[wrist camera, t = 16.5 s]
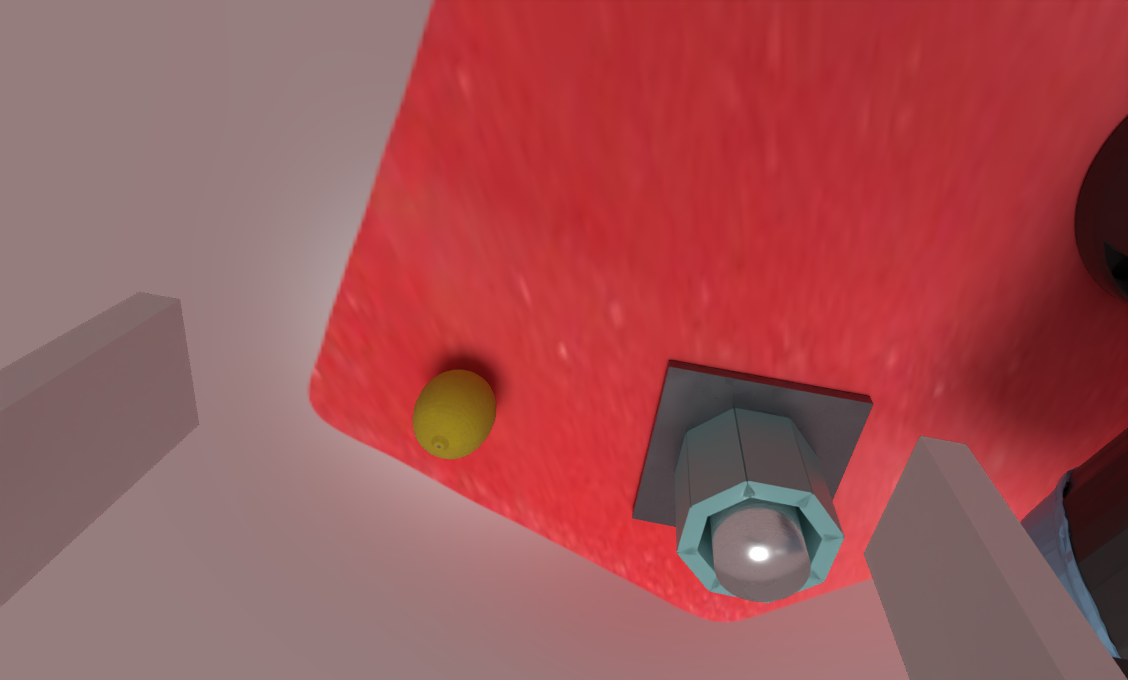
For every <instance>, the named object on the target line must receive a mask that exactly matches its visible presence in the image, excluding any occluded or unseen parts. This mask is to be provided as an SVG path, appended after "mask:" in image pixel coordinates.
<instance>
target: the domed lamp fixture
mask: <svg viewBox="0 0 1128 680" xmlns="http://www.w3.org/2000/svg"><path fill="white" fill-rule="evenodd" d="M872 406H873V402H872V400H871V398H870V397H869V396H865V395H860V394H854V393H849V392H843V391H838V390H832V389H827V388H821V387H816V386H810V385H805V384H799V383H794V382H788V381H783V380H777V379H772V378H766V377H761V376H755V375H750V374H744V373H739V372H733V371H728V370H722V369H717V368H711V367H706V366H700V365H695V364H689V363H684V362H678V361H673V360H669V362H668V366H667V370H666V374H665V379H664V383H663V387H662V391H661V395H660V399H659V403H658V407H657V412H656V416H655V420H654V424H653V428H652V432H651V436H650V440H649V445H648V449H647V453H646V457H645V461H644V465H643V469H642V473H641V478H640V482H639V486H638V490H637V494H636V498H635V502H634V506H633V514H632V518H633V519H638V520H643V521H648V522H654V523H659V524H664V525H669V526H674V527H676V506H675V470H676V467H677V463H678V460H679V456H680V452H681V449H682V445H683V441H684V438H685V434H686V433H687V431H689V430H691V429H693V428H695V427H697V426H699V425H701V424H703V423H705V422H707V421H709V420H711V419H713V418H715V417H717V416H719V415H720V414H722V413H724V412H726V411H728V410H730V409H732V408H734V409H735V408H739V409H744V410H750V411H755V412H761V413H766V414H771V415H777V416H782V417H788V418H789V419H791V420H792V421H793V423H794V424H795V426H796V427H797V429H798V430H799V431H800V433H801V434H802V436H803V437H804V438H805V440H806V441H807V443H808V444H809V446H810V447H811V448H812V450H813V451H814V453H815V454H816V456H817V458H818V461H819V464H820V467H821V470H822V472H823V475H824V478H825V481H826V484H827V487H828V490H829V493H830V496H831V499H832V500H833V498H834V495H835V493H836V491H837V488H838V486H839V484H840V481H841V479H842V477H843V474H844V472H845V470H846V467H847V465H848V463H849V460H850V458H851V456H852V453H853V451H854V448H855V446H856V444H857V441H858V439H859V437H860V434H861V432H862V430H863V427H864V425H865V423H866V420H867V418H868V416H869V413H870V411H871V409H872ZM710 526H711V537H712V548H713V558H714V569H715V574H716V577H717V579H718V581H719V583H720V584H721V585H722V586H723V588H724V589H726V590H727V591H728V592H730V593H731V594H733V595H735V596H737V597H739V598H742V599H745V600H749V601H755V602H770V601H776V600H781V599H784V598H786V597H789V596H791V595H793V594H794V593H796V592H797V591H799V590H800V589H801V588H802V587H803V586H804V585H805V583H806V582H807V580H808V578H809V575H810V571H811V564H810V559H809V556H808V552H807V548H806V544H805V540H804V537H803V533H802V529H801V525H800V522H799V518H798V514H797V510H796V506H792V505H787V504H782V503H776V502H771V501H766V500H761V499H756V498H748V499H745V500H743V501H741V502H739V503H736V504H734V505H732V506H730V507H728V508H725V509H723V510H721V511H719V512H717V513H714V514H712V515H710Z"/></svg>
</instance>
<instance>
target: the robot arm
mask: <svg viewBox="0 0 1128 680" xmlns="http://www.w3.org/2000/svg"><path fill="white" fill-rule="evenodd" d="M1075 228H1076V240H1077V245H1078V249H1079V253H1080V256H1081V258H1082V261H1083V263H1084V265H1085V267H1086V268H1087V270H1088V272H1089V273H1090V275H1091V276H1092V277H1093V278H1094V280H1095V281H1096V282H1097V283H1098V284H1099V285H1100V286H1101V287H1102V288H1103V289H1105V290H1106V291H1107V292H1108V293H1110V294H1111V295H1113V296H1114V297H1116V298H1117V299H1119V300H1120V301H1122V302H1123V303H1125V304H1126V305H1128V118H1127V119H1126V120H1125V121H1124V122H1123V123H1122V124H1121V125H1120V126H1119V128H1118V129H1117V130H1116V131H1115V132H1114V133H1113V135H1112V136H1111V137H1110V138H1109V140H1108V141H1107V143H1106V144H1105V145H1104V147H1103V148H1102V150H1101V151H1100V153H1099V154H1098V156H1097V157H1096V159H1095V161H1094V163H1093V165H1092V166H1091V168H1090V170H1089V173H1088V175H1087V177H1086V179H1085V182H1084V184H1083V187H1082V190H1081V193H1080V197H1079V201H1078V205H1077V212H1076V224H1075ZM198 425H199V421H198V414H197V408H196V401H195V394H194V388H193V381H192V375H191V368H190V362H189V355H188V349H187V342H186V335H185V329H184V323H183V316H182V309H181V302H180V299H176V298H170V297H165V296H159V295H154V294H149V293H142V292H138V293H136V294H135V295H133V296H131V297H129V298H128V299H126V300H124V301H122V302H120V303H119V304H117V305H115V306H113V307H112V308H110V309H108V310H106V311H104V312H103V313H101V314H99V315H97V316H96V317H94V318H92V319H90V320H88V321H86V322H85V323H83V324H81V325H79V326H78V327H76V328H74V329H72V330H70V331H69V332H67V333H65V334H63V335H62V336H60V337H58V338H56V339H55V340H53V341H51V342H49V343H47V344H46V345H44V346H42V347H40V348H39V349H37V350H35V351H33V352H31V353H29V354H28V355H26V356H24V357H22V358H20V359H19V360H17V361H15V362H14V363H12V364H10V365H8V366H6V367H5V368H3V369H1V370H0V607H1V606H2V605H3V604H4V603H5V602H7V601H8V600H9V599H10V598H11V597H12V596H13V595H14V594H15V593H16V592H17V591H19V590H20V589H21V588H22V587H23V586H24V585H25V584H26V583H27V582H28V581H29V580H30V579H32V578H33V577H34V576H35V575H36V574H37V573H38V572H39V571H40V570H41V569H43V568H44V567H45V566H46V565H47V564H48V563H49V562H50V561H51V560H52V559H53V558H54V557H55V556H57V555H58V554H59V553H60V552H61V551H62V550H63V549H64V548H65V547H66V546H68V545H69V544H70V543H71V542H72V541H73V540H74V539H75V538H76V537H77V536H78V535H79V534H80V533H82V532H83V531H84V530H85V529H86V528H87V527H88V526H89V525H90V524H91V523H92V522H94V521H95V520H96V519H97V518H98V517H99V516H100V515H101V514H102V513H103V512H104V511H106V509H108V508H109V507H110V506H111V505H112V504H113V503H114V502H115V501H116V500H117V499H119V498H120V497H121V496H122V495H123V494H124V493H125V492H126V491H127V490H128V489H129V488H131V487H132V486H133V485H134V484H135V483H136V482H137V481H138V480H139V479H140V478H141V477H142V476H144V475H145V474H146V473H147V472H148V471H149V470H150V469H151V468H152V467H153V466H154V465H156V464H157V463H158V462H159V461H160V460H161V459H162V458H163V457H164V456H165V455H166V454H167V453H169V451H171V450H172V449H173V448H174V447H175V446H176V445H177V444H178V443H179V442H180V441H182V440H183V439H184V438H185V437H186V436H187V435H188V434H189V433H190V432H191V431H192V430H193V429H194V428H196V427H197V426H198ZM864 556H865V558H866V561H867V564H868V567H869V569H870V572H871V575H872V578H873V580H874V583H875V586H876V589H877V591H878V594H879V597H880V600H881V602H882V605H883V608H884V610H885V613H886V616H887V619H888V621H889V624H890V627H891V630H892V632H893V635H894V637H895V641H896V643H897V646H898V649H899V651H900V654H901V657H902V660H903V662H904V665H905V668H906V671H907V673H908V676H909V679H910V680H1128V428H1127V429H1126V430H1124V431H1123V432H1122V433H1121V434H1120V435H1118V436H1117V437H1116V438H1115V439H1113V440H1112V441H1111V442H1110V443H1108V444H1107V445H1106V446H1105V447H1103V448H1102V449H1101V450H1100V451H1098V452H1097V453H1096V454H1095V455H1093V456H1092V457H1091V458H1090V459H1088V460H1087V461H1086V462H1085V463H1083V464H1082V465H1081V466H1080V467H1076V468H1074V469H1072V470H1070V471H1068V472H1067V473H1065V474H1064V475H1063V476H1062V477H1061V478H1060V480H1059V482H1058V484H1057V485H1056V489H1055V490H1053V491H1052V492H1051V493H1050V494H1049V495H1048V496H1047V497H1046V498H1045V499H1044V500H1043V501H1042V502H1041V503H1039V504H1038V505H1037V506H1036V507H1035V508H1034V509H1033V510H1032V511H1031V512H1030V513H1029V514H1027V515H1026V516H1025V517H1024V519H1023V520H1022V521H1021V522H1019V521H1018V519H1017V518H1016V516H1015V515H1014V513H1013V512H1012V510H1011V509H1010V507H1009V506H1008V504H1007V503H1006V502H1005V500H1004V499H1003V497H1002V496H1001V494H1000V493H999V491H998V490H997V488H996V487H995V485H994V484H993V483H992V481H991V480H990V478H989V477H988V475H987V474H986V472H985V471H984V469H983V468H982V467H981V465H980V464H979V462H978V461H977V459H976V458H975V456H974V455H973V453H972V452H971V450H970V449H969V448H968V446H967V445H966V444H962V443H957V442H952V441H946V440H941V439H935V438H930V437H925V436H920V437H919V439H918V441H917V443H916V446H915V448H914V450H913V452H912V454H911V456H910V458H909V460H908V462H907V464H906V466H905V469H904V471H903V473H902V475H901V477H900V479H899V481H898V483H897V485H896V487H895V489H894V491H893V494H892V496H891V498H890V500H889V502H888V504H887V506H886V508H885V510H884V512H883V514H882V517H881V519H880V521H879V523H878V525H877V527H876V529H875V531H874V533H873V535H872V537H871V540H870V542H869V544H868V546H867V548H866V550H865V552H864Z"/></svg>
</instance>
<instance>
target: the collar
mask: <svg viewBox="0 0 1128 680" xmlns="http://www.w3.org/2000/svg"><path fill="white" fill-rule="evenodd" d="M748 498H756V499H761V500H766V501H771V502H776V503H782V504H787V505H792V506H796V510H797V514H798V518H799V522H800V525H801V529H802V533H803V537H804V540H805V544H806V548H807V552H808V556H809V559H810V564H811V571H810V575H809V578H808V580H807V582H806V583H805V585H804V586H803V587H802V588H801V589H800V590H799V591H802V590H804V589H807V588H810V587H812V586H815V585H818V584H820V583H823V581H825V579H826V577H827V575H828V572H829V570H830V568H831V566H832V564H833V561H834V559H835V557H836V555H837V553H838V550H839V548H840V546H841V544H842V541H843V539H844V534H843V531H842V528H841V525H840V522H839V519H838V516H837V514H836V511H835V508H834V505H833V502H832V499H831V496H830V493H829V490H828V487H827V484H826V481H825V478H824V475H823V472H822V470H821V467H820V464H819V461H818V458H817V456H816V454H815V453H814V451H813V450H812V448H811V447H810V446H809V444H808V443H807V441H806V440H805V438H804V437H803V436H802V434H801V433H800V431H799V430H798V429H797V427H796V426H795V424H794V423H793V421H792V420H791V419H789V418H788V417H782V416H777V415H771V414H766V413H761V412H755V411H750V410H744V409H739V408H735V409H734V408H732V409H730V410H728V411H726V412H724V413H722V414H720V415H719V416H717V417H715V418H713V419H711V420H709V421H707V422H705V423H703V424H701V425H699V426H697V427H695V428H693V429H691V430H689V431H687V433H686V434H685V438H684V441H683V445H682V449H681V452H680V456H679V460H678V463H677V467H676V470H675V506H676V541H677V554H678V555H679V556H680V557H681V559H682V560H683V561H684V562H685V563H686V565H687V566H688V567H689V568H690V569H691V570H692V572H693V573H694V574H695V575H696V576H697V578H698V579H699V580H700V581H701V582H702V583H703V585H704V586H705V587H706V588H707V589H708V591H709V590H710V592H715V593H720V594H725V595H730V596H735V595H733V594H731V593H730V592H728V591H727V590H726V589H724V588H723V586H722V585H721V584H720V583H719V581H718V579H717V577H716V574H715V569H714V558H713V548H712V537H711V526H710V515H712V514H714V513H717V512H719V511H721V510H723V509H725V508H728V507H730V506H732V505H734V504H736V503H739V502H741V501H743V500H745V499H748ZM799 591H797V592H799ZM797 592H796V593H797ZM735 597H737V596H735ZM770 602H773V601H770ZM770 602H769V603H770ZM765 603H768V602H765Z"/></svg>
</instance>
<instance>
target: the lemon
mask: <svg viewBox="0 0 1128 680" xmlns="http://www.w3.org/2000/svg"><path fill="white" fill-rule="evenodd" d="M495 417H496V400H495V396H494V393H493V391H492V389H491V387H490V385H489V384H488V383H487V382H486V381H485V380H484V379H483V378H482V377H481V376H479V375H478V374H476V373H473V372H471V371H467V370H450V371H446V372H443V373H441V374H439V375H438V376H436V377H434V378H433V379H432V380H431V381H430V382H429V383H428V384H427V385H426V386H425V387H424V388H423V390H422V391H421V393H420V395H419V397H418V399H417V401H416V404H415V408H414V414H413V428H414V433H415V435H416V438H417V440H418V442H419V443H420V444H421V446H422V447H423V448H424V449H425V450H427V451H428V452H429V453H431V454H432V455H434V456H437V457H440V458H445V459H457V458H461V457H464V456H467V455H468V454H470V453H472V452H473V451H474V450H476V449H477V448H478V447H479V446H480V445H481V444H482V443H483V441H484V440H485V439H486V438H487V437H488V435H489V433H490V431H491V429H492V427H493V424H494V421H495Z"/></svg>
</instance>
